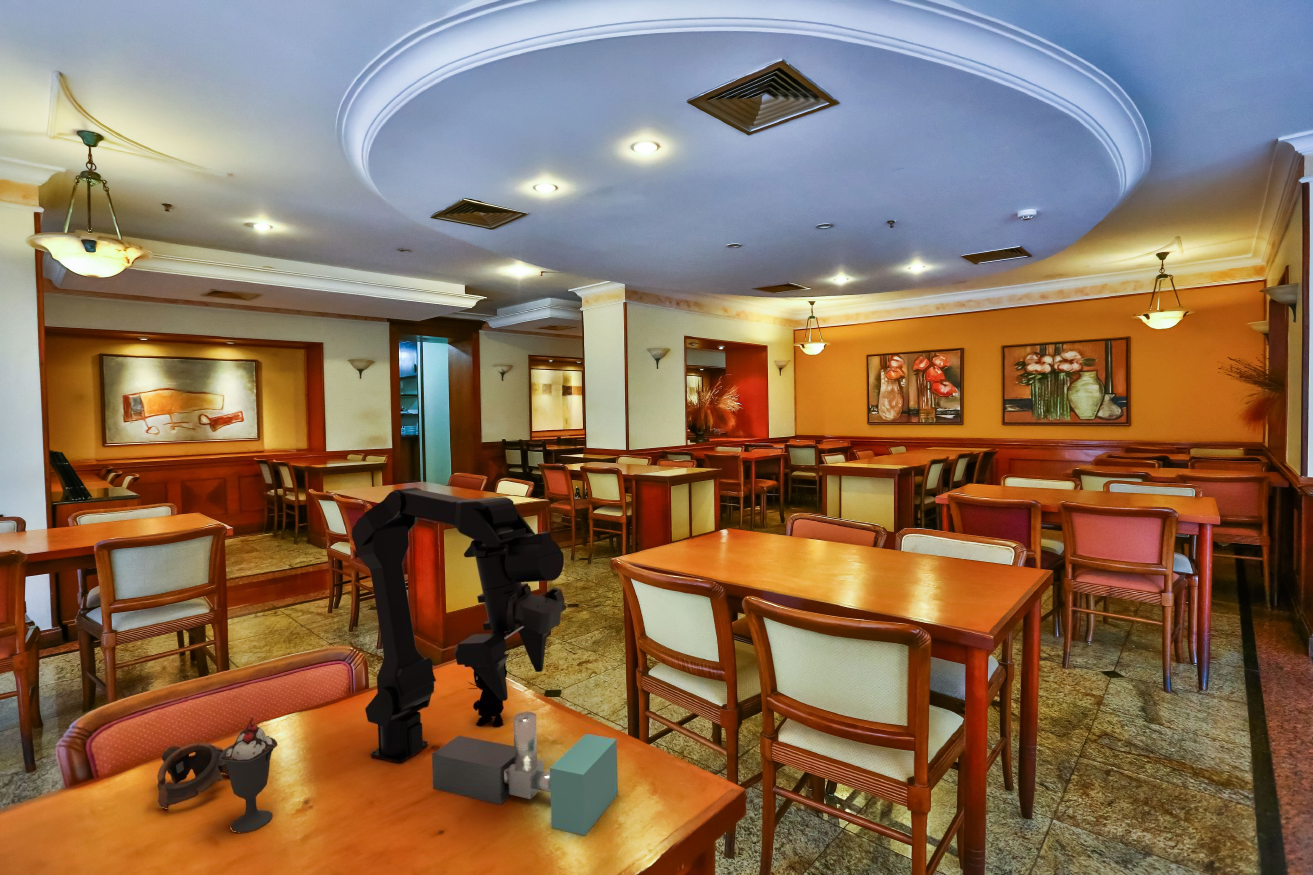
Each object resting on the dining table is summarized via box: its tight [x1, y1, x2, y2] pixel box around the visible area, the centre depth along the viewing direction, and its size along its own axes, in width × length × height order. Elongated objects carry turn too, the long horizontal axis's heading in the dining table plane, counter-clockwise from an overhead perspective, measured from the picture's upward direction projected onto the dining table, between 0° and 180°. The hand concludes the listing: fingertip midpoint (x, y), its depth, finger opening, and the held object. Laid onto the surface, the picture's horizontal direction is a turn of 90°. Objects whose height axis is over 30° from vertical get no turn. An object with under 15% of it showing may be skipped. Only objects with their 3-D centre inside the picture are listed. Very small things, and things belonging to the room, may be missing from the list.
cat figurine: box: [466, 662, 508, 728], centre depth 116 cm, size 7×7×12 cm
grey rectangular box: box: [431, 735, 515, 806], centre depth 95 cm, size 12×6×5 cm, turn 68°
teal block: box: [549, 733, 619, 837], centre depth 89 cm, size 5×10×8 cm, turn 158°
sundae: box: [219, 716, 278, 834], centre depth 88 cm, size 7×7×15 cm
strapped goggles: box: [157, 741, 229, 809], centre depth 95 cm, size 12×10×8 cm
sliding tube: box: [504, 711, 550, 800], centre depth 94 cm, size 19×4×11 cm, turn 68°
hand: (522, 685), depth 95 cm, fingers open, 9 cm apart
